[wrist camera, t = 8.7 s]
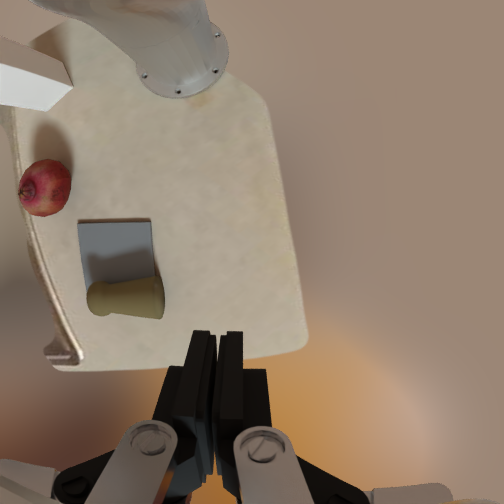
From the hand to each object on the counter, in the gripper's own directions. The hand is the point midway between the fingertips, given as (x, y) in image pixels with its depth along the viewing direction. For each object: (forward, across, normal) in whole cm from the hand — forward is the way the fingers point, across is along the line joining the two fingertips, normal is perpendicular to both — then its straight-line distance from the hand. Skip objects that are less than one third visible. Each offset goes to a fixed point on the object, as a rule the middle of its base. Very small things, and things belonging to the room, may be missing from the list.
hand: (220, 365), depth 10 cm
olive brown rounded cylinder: (+28, +10, +11) cm, 32 cm away
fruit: (+31, +27, -5) cm, 42 cm away
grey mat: (+31, +18, +8) cm, 37 cm away
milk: (+31, +29, -21) cm, 48 cm away
